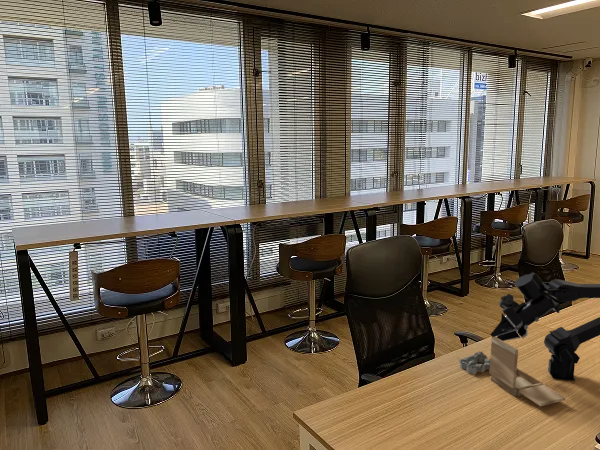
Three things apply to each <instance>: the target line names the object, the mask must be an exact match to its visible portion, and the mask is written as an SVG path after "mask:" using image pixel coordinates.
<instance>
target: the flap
mask: <svg viewBox="0 0 600 450" xmlns="http://www.w3.org/2000/svg"><path fill="white" fill-rule="evenodd" d="M496 337H497V336H496ZM496 337H492V336H491V343H490V344H491V347H490V358H489V359H490V370H488V371H489V374H490V375H491V374H492V375H493V376H495V377H496V378H498V379H500V380H501V381H503V382H504V383H506V384H507V385H509V386H510V387H512V388H515V383H516V371H517V368H518V356H519V349H518V348H516V347H514V346H513V345H511V344H510V343H507V342H506V341H502V340H500V339H498V338H496Z"/></svg>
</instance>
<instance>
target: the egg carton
mask: <svg viewBox="0 0 600 450" xmlns="http://www.w3.org/2000/svg"><path fill="white" fill-rule="evenodd" d="M458 362H459V364H460V365H459V368H460V369H461V370H466V373H467V374H472V375H476V374H477V372H480V373H485V370H488V371H490V358H489V359H488V355H486V354H485V353H483V351H477V352H474V354H472V355H471V354H470V355H469V356H465V357H464V358H460V359H458ZM478 362H479V363H478ZM481 363H483V364H481Z"/></svg>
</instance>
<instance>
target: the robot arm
mask: <svg viewBox="0 0 600 450" xmlns="http://www.w3.org/2000/svg"><path fill="white" fill-rule="evenodd" d="M514 285H515V287H516V288H517V290H519V292H520V293H521V294H522V296H523V297H524V298H525V299H526V300H529V301H528V302H521V303H520V304H519V302H516V301H514V300H515V299H514V298H515V297H514V296H513V294H510V293H509V294H506V295H503V296H501V297H500V301H499V302H498V305H499V307H500V308H501V309H502V310H501V311H502V312H501V314H500V315H501V319H500V322H499V323H498V324H497V325H496V327H495V328H494V329H493V330H492V332H491V333H490V336H491V338H492V337H496V338H498V339H500V340H502V341H504V342H506V341H511V340H516V339H524V338H526V337H527V336H528V329H529V326H530V325H532V324H533V323H535V322H536V323H538V322H539V321H540V318H542V317H543V316H544V315H546V314H548V312H551V311H552V310H553V311H554V312H556V313H557V314H560V307H561V304H560V303H571V302H575V301H578V300H580V299H600V283H576V282H571V281H567V280H563V279H557V278H556V279H555V278H554V279H551V280H550V281H547V282H545V281H543V282H542V281H541V280H540V278H539V277H538V275H537V274H536V273H535V272H531V273H529V274H524V275H522V276H520V277H518V278H517V279H516V280H515V282H514ZM545 293H546V294H548V295H546V294H545ZM553 299H555V300H557V301H558V302H557V301H554V300H553ZM559 302H560V303H559ZM599 336H600V316H599V317H597V318H595V319H593V320H590V321H588V322H586V323H583V324H581V325H579V326H577V327H575V328H572V329H569V330H568V329H565V328H564V327H562V326H560V327H558V328H556V329H553V330H551V331H549V333H548V334H546V335H545V337H544V339H543V344H544V346H545V347H546V348H547V349H548V352H549V353H550V354H551V355H550V358H549V359H548V367H547V371H548V373H549V375H550V377H551V378H552V380H553V379H554V380H561V381H562V380H563V381H572V382H576V378H575V366H576V365H575V364H578V363H579V360H580V359H581V358H580V356H579V354H577V353H576V352H577V350H578V348H580V346H581V344H584V343H586V342H589V341H590V340H592V339H595V338H597V337H599Z"/></svg>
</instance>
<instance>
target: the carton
mask: <svg viewBox="0 0 600 450" xmlns="http://www.w3.org/2000/svg"><path fill="white" fill-rule="evenodd" d="M490 381H491V382H493V383H494V384H495V385H498V386H499V387H500V388H502V389H503V390H505V391H507V392H508V393H509V394H510V395H513V397H515V398H519V397H522V396H524V397H525V398H527V399H528V400H530V401H532V402H533V403H535V404H536V405H538V406H540V407H543V406H547V405H551V404H552V405H553V404H555V403H559V402H564V401H566V397H565V396H564V395H561V393H558V392H557V391H555V390H553V389H552V388H550V387H548V386H547V385H545V384H544V383H543V382H541V381H540V380H539V379H536V378H535V377H533V376H532V375H530V374H528V373H527V372H525V371H523V370H522V369H520V368H518V367H517V371H516V383H515V388H512V387H510V386H509V385H507V384H506V383H504V382H503V381H501V380H500V379H498V378H496V377H495V376H493V375H492V374H490Z"/></svg>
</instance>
